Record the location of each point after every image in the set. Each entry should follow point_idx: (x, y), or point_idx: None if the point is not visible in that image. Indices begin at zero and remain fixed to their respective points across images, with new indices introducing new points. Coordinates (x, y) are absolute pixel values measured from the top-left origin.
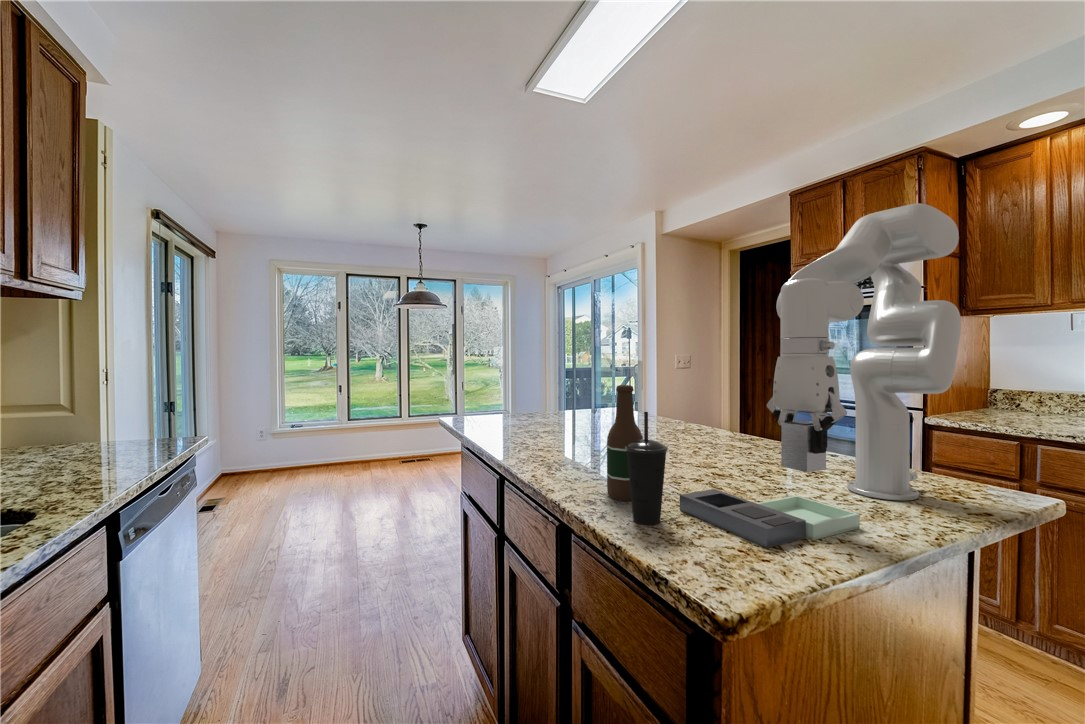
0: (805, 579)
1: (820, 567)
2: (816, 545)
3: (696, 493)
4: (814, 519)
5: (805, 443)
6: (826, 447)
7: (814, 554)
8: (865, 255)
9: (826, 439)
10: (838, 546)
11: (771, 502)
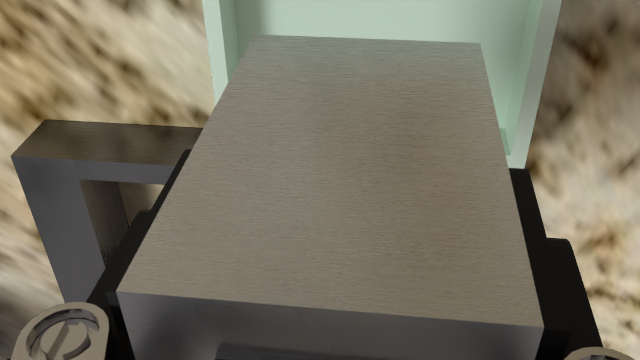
0: (630, 356)
1: (629, 286)
2: (545, 166)
3: (62, 252)
4: None
5: None
6: (564, 244)
7: (576, 229)
8: None
9: (582, 302)
10: (603, 112)
11: (225, 52)
